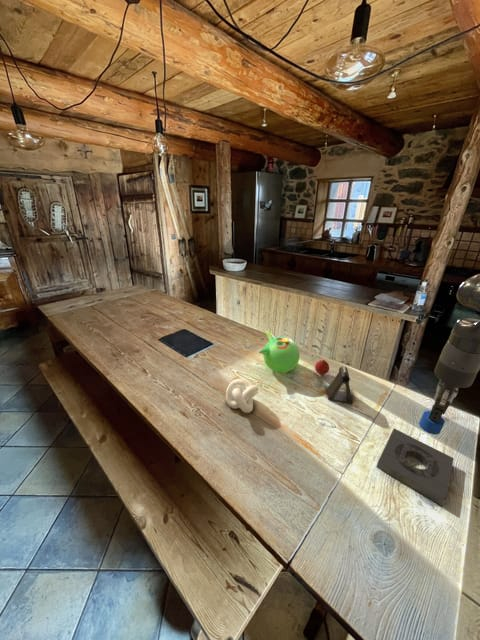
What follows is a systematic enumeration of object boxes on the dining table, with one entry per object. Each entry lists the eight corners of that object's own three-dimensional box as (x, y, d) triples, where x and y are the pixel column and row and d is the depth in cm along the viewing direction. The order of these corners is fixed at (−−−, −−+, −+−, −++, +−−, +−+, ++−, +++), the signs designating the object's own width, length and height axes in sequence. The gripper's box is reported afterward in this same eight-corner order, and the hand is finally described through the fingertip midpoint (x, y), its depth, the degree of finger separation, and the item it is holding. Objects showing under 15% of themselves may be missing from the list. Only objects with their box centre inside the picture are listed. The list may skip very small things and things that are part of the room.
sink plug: (430, 420, 74) (441, 396, 70) (444, 434, 69) (456, 409, 66) (414, 421, 73) (424, 397, 70) (427, 435, 69) (438, 410, 65)
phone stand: (350, 393, 105) (356, 368, 100) (352, 403, 100) (359, 377, 95) (326, 389, 107) (331, 364, 102) (327, 399, 102) (333, 374, 97)
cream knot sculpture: (218, 409, 96) (218, 390, 92) (234, 390, 106) (234, 371, 102) (247, 420, 92) (248, 401, 88) (260, 399, 101) (261, 380, 97)
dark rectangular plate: (391, 433, 88) (393, 428, 87) (450, 463, 78) (453, 458, 77) (376, 466, 77) (378, 460, 76) (442, 506, 67) (445, 500, 66)
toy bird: (296, 382, 111) (300, 352, 104) (256, 375, 114) (258, 346, 108) (299, 359, 126) (302, 331, 120) (264, 353, 130) (265, 327, 124)
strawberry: (311, 371, 118) (314, 355, 114) (323, 369, 119) (326, 354, 115) (317, 379, 113) (320, 363, 109) (330, 377, 114) (333, 362, 110)
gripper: (477, 383, 55) (447, 441, 63) (481, 356, 65) (455, 410, 72) (435, 368, 60) (412, 424, 67) (444, 345, 69) (423, 397, 77)
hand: (434, 416), depth 70 cm, fingers closed on sink plug
